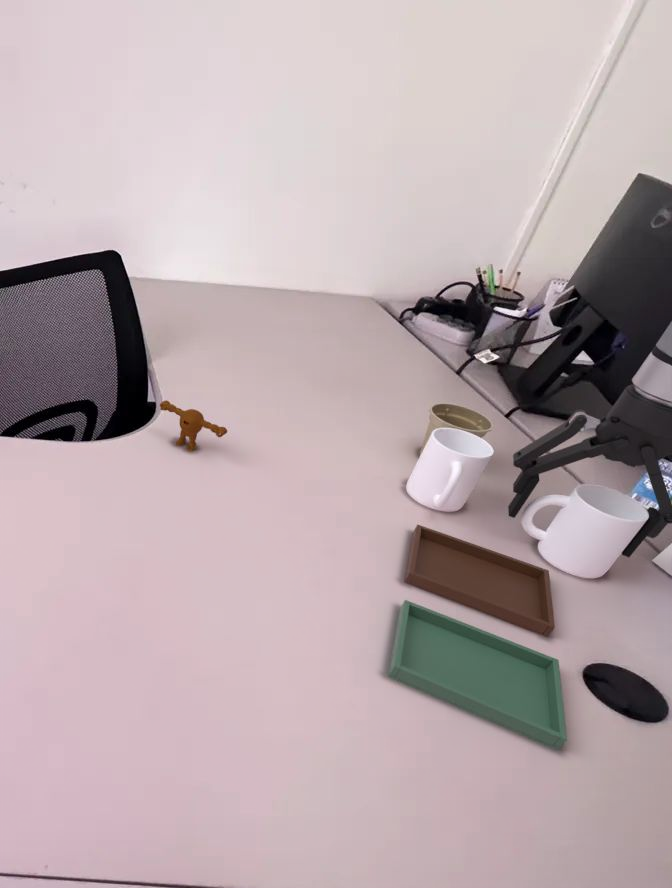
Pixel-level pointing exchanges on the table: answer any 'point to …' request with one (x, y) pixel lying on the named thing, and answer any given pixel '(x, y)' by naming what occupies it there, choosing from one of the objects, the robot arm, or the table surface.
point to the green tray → (480, 673)
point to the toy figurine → (191, 425)
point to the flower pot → (456, 420)
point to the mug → (586, 528)
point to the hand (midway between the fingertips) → (566, 531)
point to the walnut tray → (481, 580)
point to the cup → (448, 469)
